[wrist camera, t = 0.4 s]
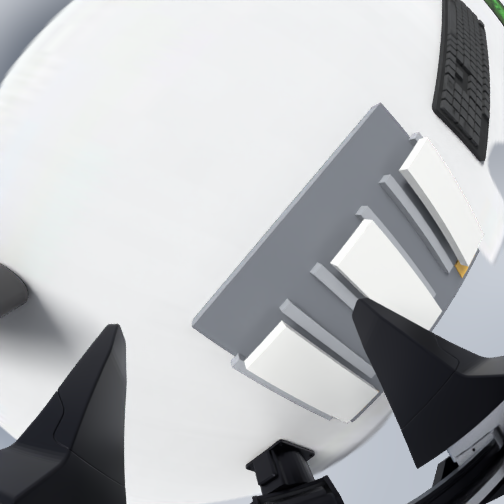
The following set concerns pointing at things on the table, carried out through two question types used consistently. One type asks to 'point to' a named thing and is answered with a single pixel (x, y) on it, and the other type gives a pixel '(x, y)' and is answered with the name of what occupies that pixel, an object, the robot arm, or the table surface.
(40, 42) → the table surface
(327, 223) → the switch panel
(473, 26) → the keyboard
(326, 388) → the key
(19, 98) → the table surface
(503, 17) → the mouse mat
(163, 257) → the table surface
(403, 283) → the key middle
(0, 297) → the leaning round-cornered charcoal block
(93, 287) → the table surface
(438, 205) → the key
